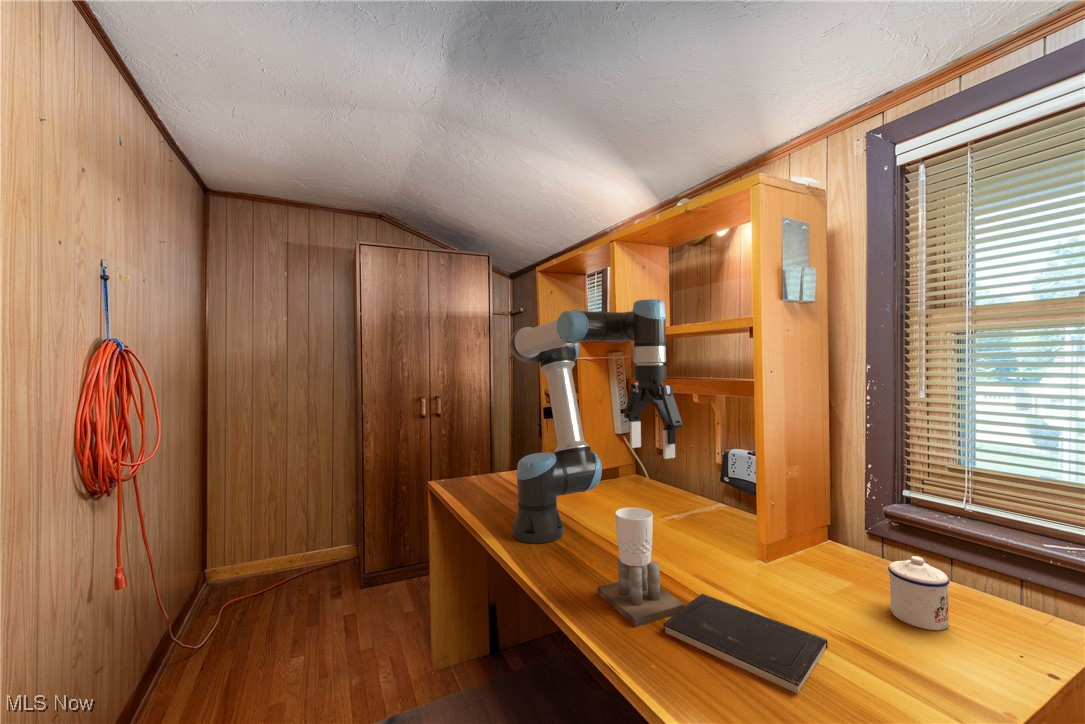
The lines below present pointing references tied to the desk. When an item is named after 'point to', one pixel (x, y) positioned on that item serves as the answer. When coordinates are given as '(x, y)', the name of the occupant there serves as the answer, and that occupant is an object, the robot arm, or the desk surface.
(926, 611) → the lidded ceramic jar
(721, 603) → the hardcover book
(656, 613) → the peg stand
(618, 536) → the white cup
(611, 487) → the desk surface
